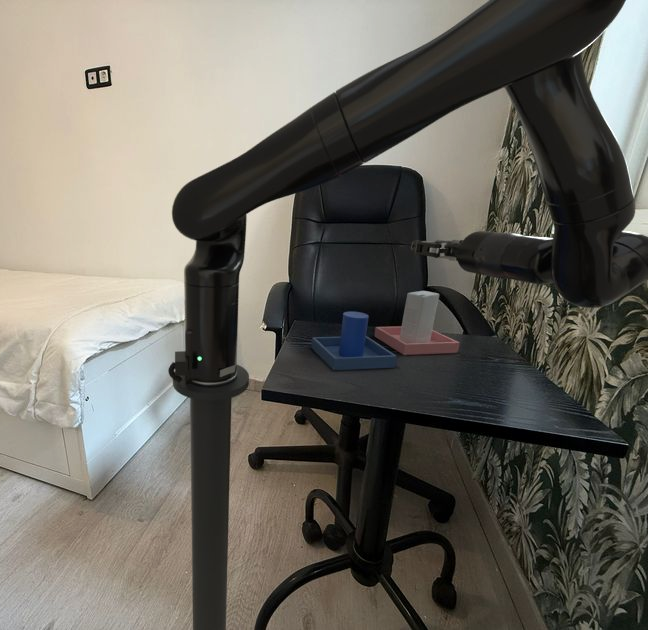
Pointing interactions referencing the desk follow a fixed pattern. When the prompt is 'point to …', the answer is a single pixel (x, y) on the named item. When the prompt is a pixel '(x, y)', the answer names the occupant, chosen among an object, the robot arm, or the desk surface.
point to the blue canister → (353, 334)
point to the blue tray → (371, 358)
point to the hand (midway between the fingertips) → (431, 245)
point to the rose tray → (435, 345)
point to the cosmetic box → (419, 317)
